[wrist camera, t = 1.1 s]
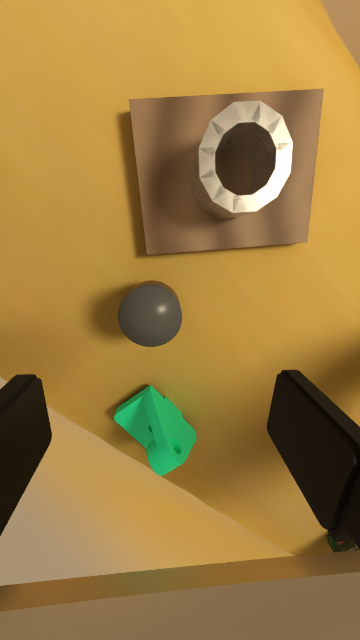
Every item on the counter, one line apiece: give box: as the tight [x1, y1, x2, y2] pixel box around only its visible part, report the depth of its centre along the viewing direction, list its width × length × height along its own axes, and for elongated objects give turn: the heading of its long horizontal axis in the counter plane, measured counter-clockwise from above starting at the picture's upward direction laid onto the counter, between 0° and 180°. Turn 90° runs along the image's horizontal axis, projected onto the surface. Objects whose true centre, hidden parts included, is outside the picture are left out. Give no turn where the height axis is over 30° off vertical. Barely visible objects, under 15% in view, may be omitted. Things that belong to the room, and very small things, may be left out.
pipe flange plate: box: [129, 89, 324, 255], centre depth 23 cm, size 20×15×8 cm
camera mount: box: [114, 385, 197, 476], centre depth 33 cm, size 12×8×10 cm, turn 37°
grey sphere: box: [118, 281, 182, 347], centre depth 28 cm, size 7×7×7 cm
